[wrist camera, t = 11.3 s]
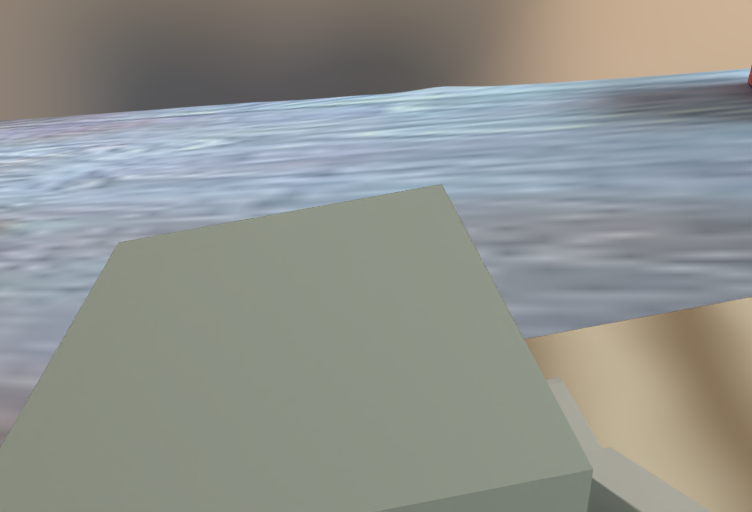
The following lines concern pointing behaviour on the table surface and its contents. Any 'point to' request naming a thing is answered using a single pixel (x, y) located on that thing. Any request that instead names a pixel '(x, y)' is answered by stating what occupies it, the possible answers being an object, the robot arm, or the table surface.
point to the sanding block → (297, 377)
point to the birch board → (668, 395)
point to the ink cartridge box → (750, 77)
